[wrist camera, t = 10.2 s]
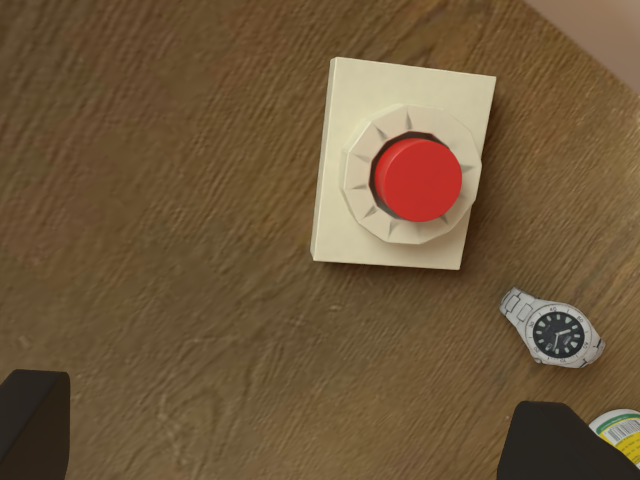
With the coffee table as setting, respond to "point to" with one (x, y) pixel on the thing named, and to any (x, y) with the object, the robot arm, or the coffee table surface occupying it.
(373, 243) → the box
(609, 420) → the supplement bottle
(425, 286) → the coffee table surface
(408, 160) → the stop button
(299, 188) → the coffee table surface
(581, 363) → the wristwatch
